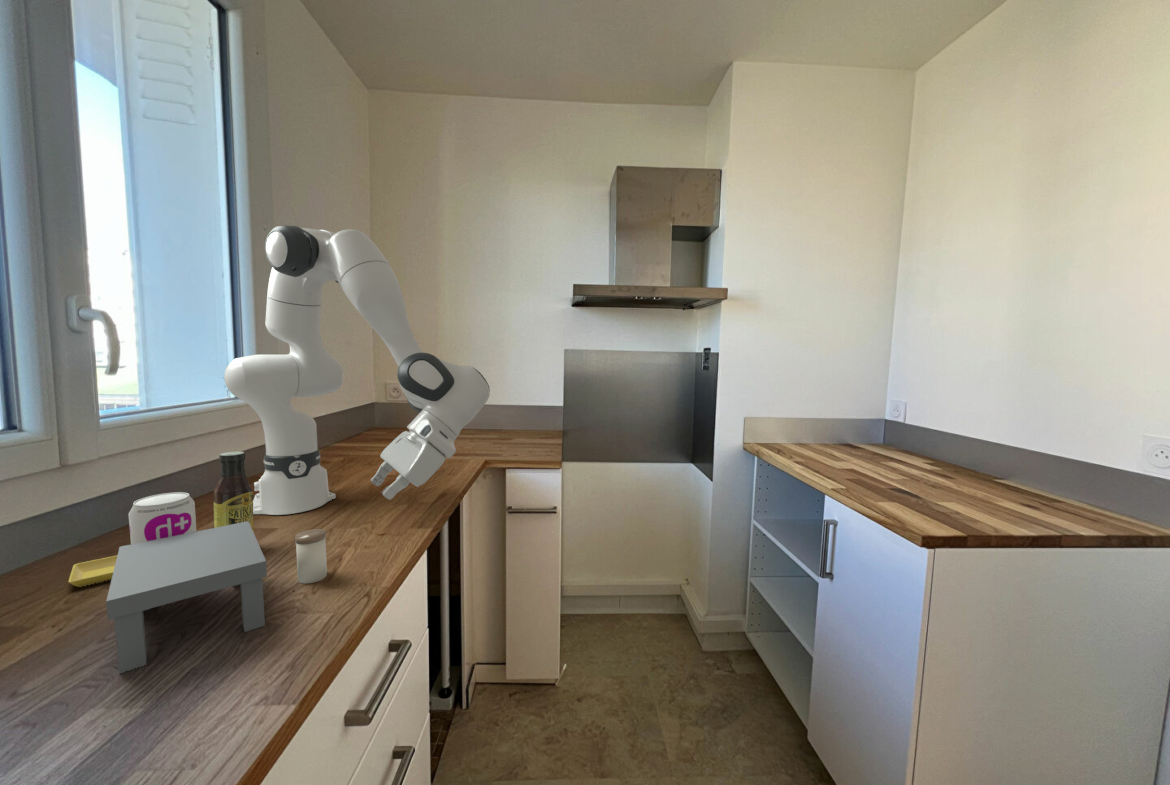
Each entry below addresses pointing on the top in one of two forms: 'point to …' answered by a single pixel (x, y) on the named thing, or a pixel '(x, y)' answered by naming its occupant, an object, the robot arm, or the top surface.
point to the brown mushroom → (311, 555)
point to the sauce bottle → (233, 492)
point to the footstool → (182, 580)
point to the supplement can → (162, 517)
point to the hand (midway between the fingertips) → (379, 490)
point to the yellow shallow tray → (92, 571)
